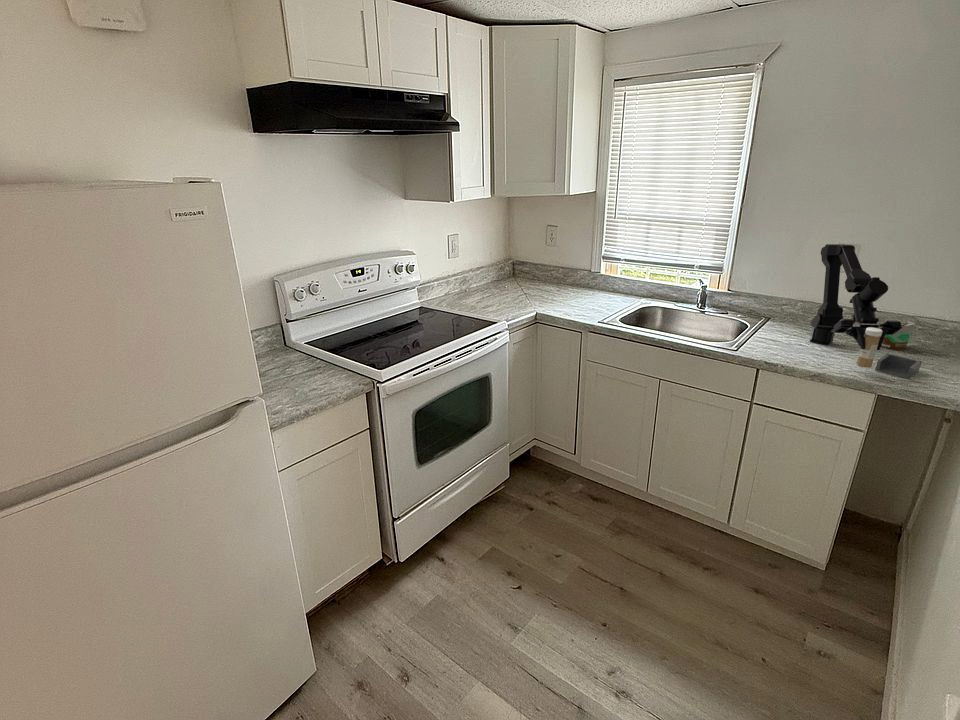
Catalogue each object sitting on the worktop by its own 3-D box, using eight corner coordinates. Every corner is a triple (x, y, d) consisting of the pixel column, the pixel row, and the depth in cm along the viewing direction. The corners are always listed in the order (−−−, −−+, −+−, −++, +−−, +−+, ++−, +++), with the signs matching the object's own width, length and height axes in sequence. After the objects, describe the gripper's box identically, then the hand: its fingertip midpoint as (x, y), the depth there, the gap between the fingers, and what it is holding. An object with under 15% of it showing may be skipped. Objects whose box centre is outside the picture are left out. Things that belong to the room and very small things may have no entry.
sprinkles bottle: (852, 363, 181) (862, 327, 176) (864, 362, 181) (875, 326, 176) (862, 368, 176) (873, 331, 171) (875, 367, 177) (886, 330, 172)
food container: (893, 353, 198) (900, 328, 194) (877, 347, 204) (884, 323, 200) (917, 349, 201) (924, 324, 197) (901, 344, 207) (908, 320, 203)
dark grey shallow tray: (874, 370, 183) (878, 360, 181) (884, 363, 188) (887, 353, 187) (909, 379, 175) (913, 368, 174) (918, 371, 181) (921, 361, 180)
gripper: (880, 320, 186) (888, 359, 181) (823, 318, 190) (829, 357, 184) (898, 305, 176) (907, 347, 171) (838, 303, 180) (845, 344, 174)
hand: (871, 349), depth 175 cm, fingers closed on sprinkles bottle, 4 cm apart
